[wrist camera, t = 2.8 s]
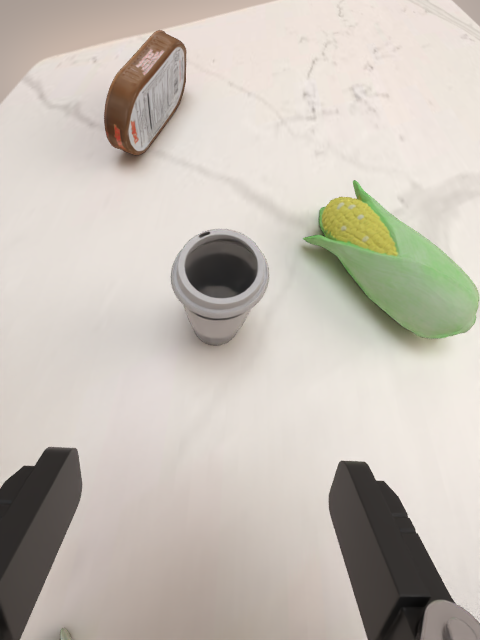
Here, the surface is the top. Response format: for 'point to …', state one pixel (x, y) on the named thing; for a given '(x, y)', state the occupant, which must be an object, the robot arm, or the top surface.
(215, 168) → the top surface
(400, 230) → the corn
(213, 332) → the cup
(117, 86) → the tin
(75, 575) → the top surface
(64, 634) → the soupspoon
